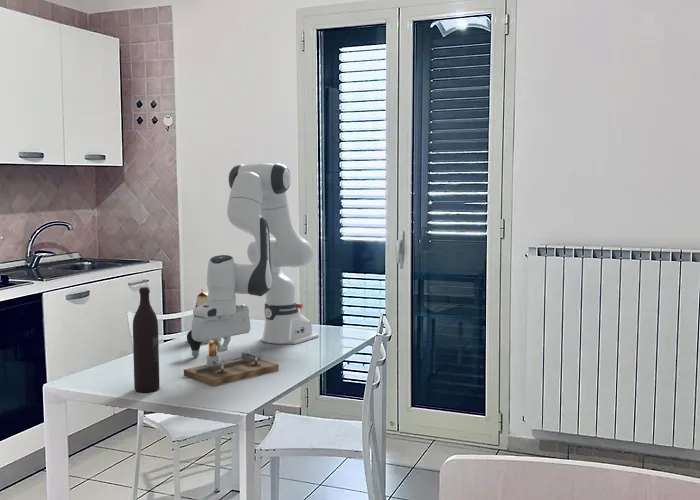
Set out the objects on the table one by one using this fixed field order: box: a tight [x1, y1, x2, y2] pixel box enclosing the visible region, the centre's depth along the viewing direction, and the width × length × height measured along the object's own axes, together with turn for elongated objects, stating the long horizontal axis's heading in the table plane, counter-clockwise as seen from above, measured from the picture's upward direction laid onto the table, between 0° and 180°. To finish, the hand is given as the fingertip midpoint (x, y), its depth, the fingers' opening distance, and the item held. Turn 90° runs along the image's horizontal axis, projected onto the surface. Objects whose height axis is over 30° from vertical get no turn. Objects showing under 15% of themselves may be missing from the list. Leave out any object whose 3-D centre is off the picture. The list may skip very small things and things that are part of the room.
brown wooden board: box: [183, 356, 280, 387], centre depth 225 cm, size 25×16×2 cm, turn 136°
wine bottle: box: [132, 286, 160, 394], centre depth 206 cm, size 7×7×30 cm
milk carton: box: [193, 289, 214, 344], centre depth 271 cm, size 9×9×20 cm
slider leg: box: [206, 342, 224, 372], centre depth 220 cm, size 2×7×8 cm, turn 46°
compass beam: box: [196, 351, 261, 374], centre depth 225 cm, size 24×6×3 cm, turn 136°
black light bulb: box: [186, 329, 203, 359], centre depth 244 cm, size 6×6×10 cm
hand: (222, 351), depth 224 cm, fingers closed
